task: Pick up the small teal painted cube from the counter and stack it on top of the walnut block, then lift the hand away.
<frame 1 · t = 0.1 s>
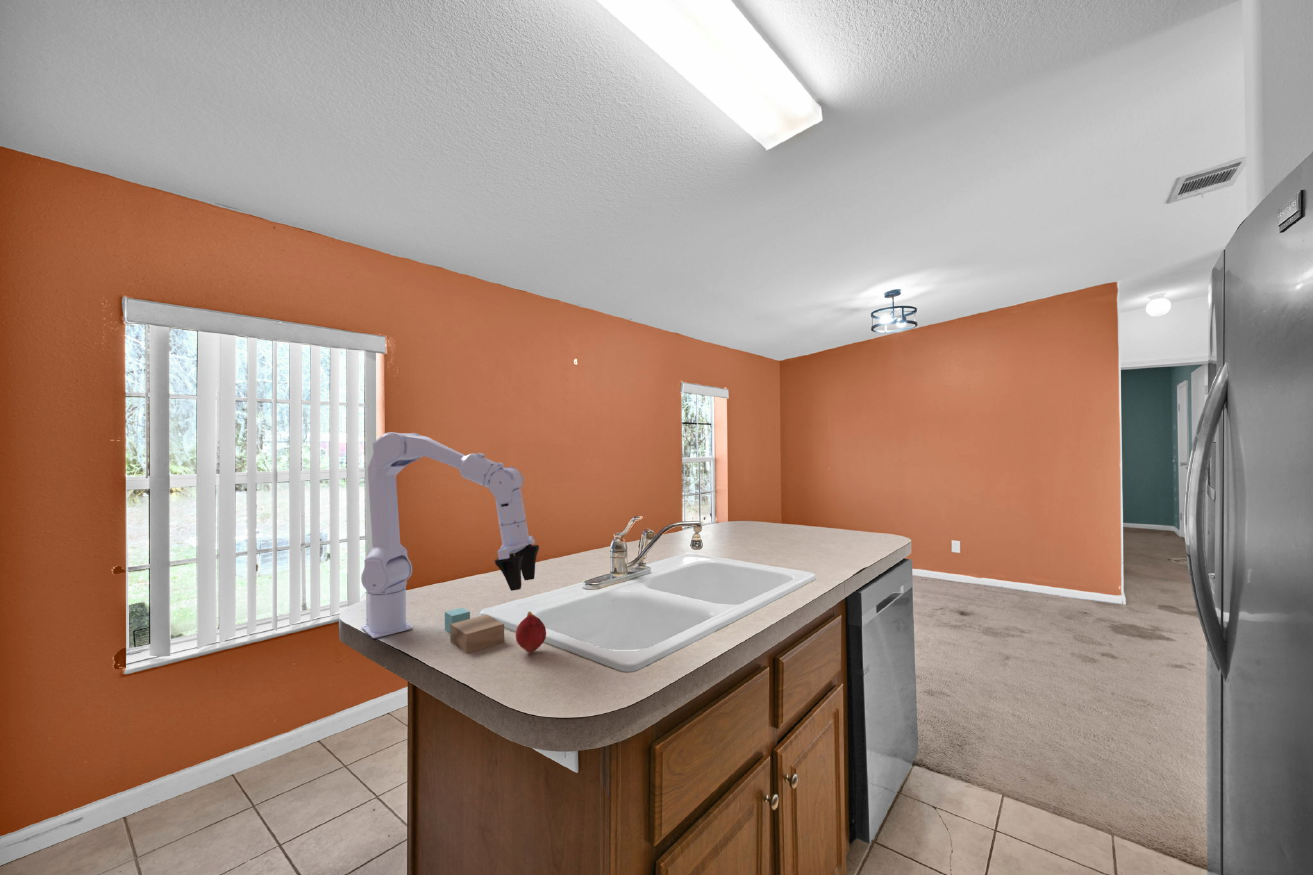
hand: (522, 584, 108), 11 cm above the table, tool pointing down, fingers open, 7 cm apart
teal cube: (457, 629, 111), on the table
onion: (531, 653, 98), on the table
walnut block: (477, 643, 104), on the table
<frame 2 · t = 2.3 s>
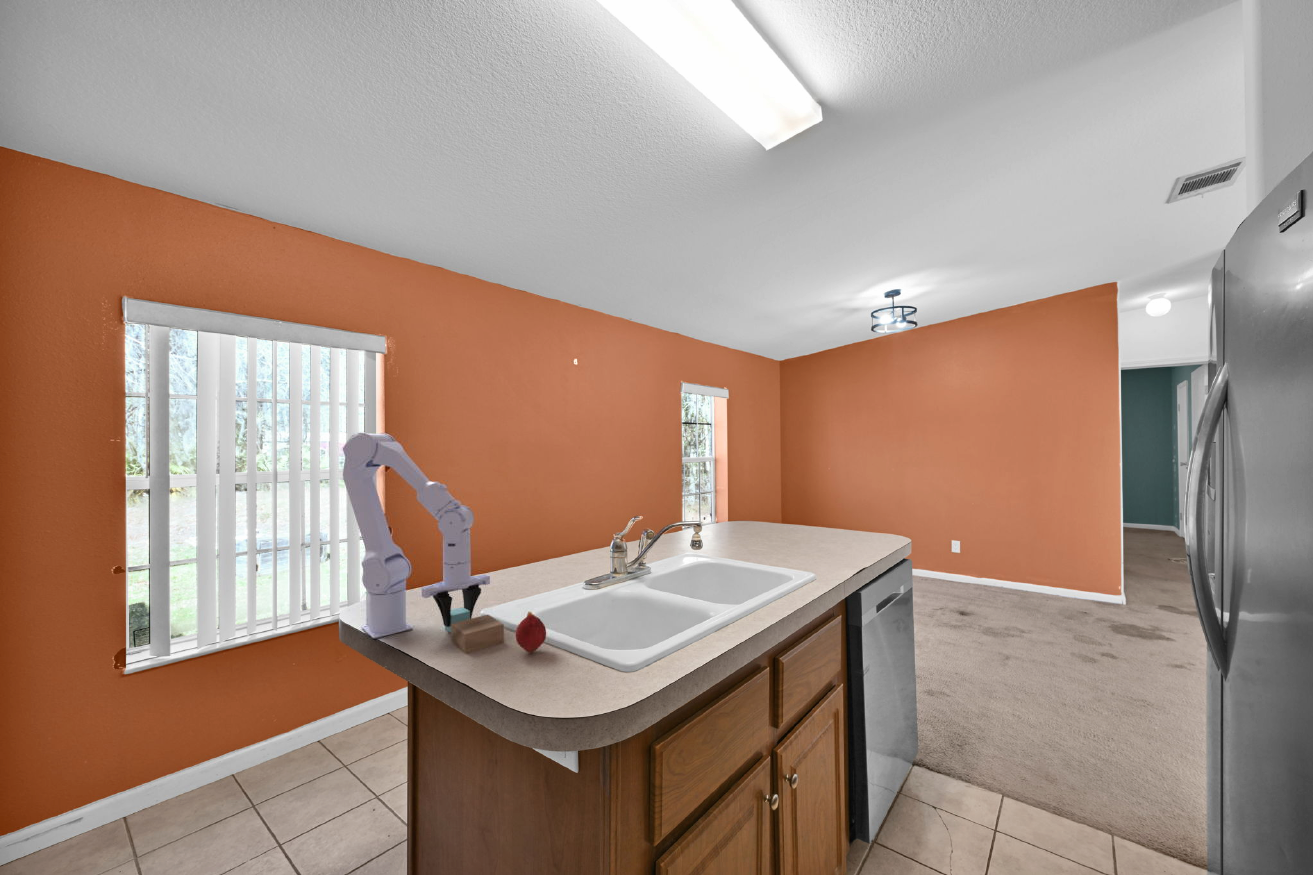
hand: (457, 622, 111), 1 cm above the table, tool pointing down, fingers closed on teal cube, 4 cm apart
teal cube: (457, 629, 111), on the table, touching gripper
everything else where it was.
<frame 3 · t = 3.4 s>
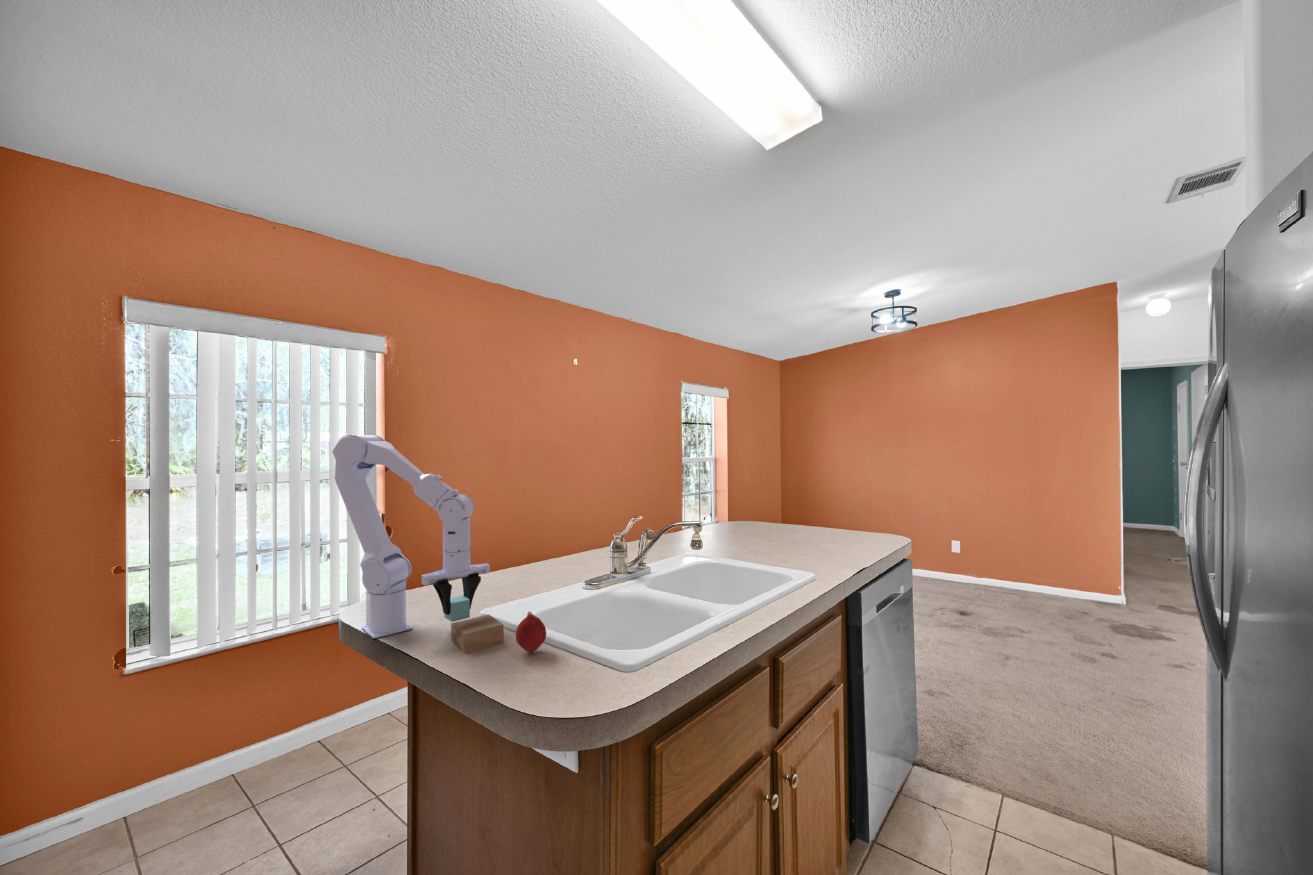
hand: (457, 610, 111), 4 cm above the table, tool pointing down, fingers closed on teal cube, 4 cm apart
teal cube: (457, 617, 111), point 3 cm above the table, touching gripper
everything else where it was.
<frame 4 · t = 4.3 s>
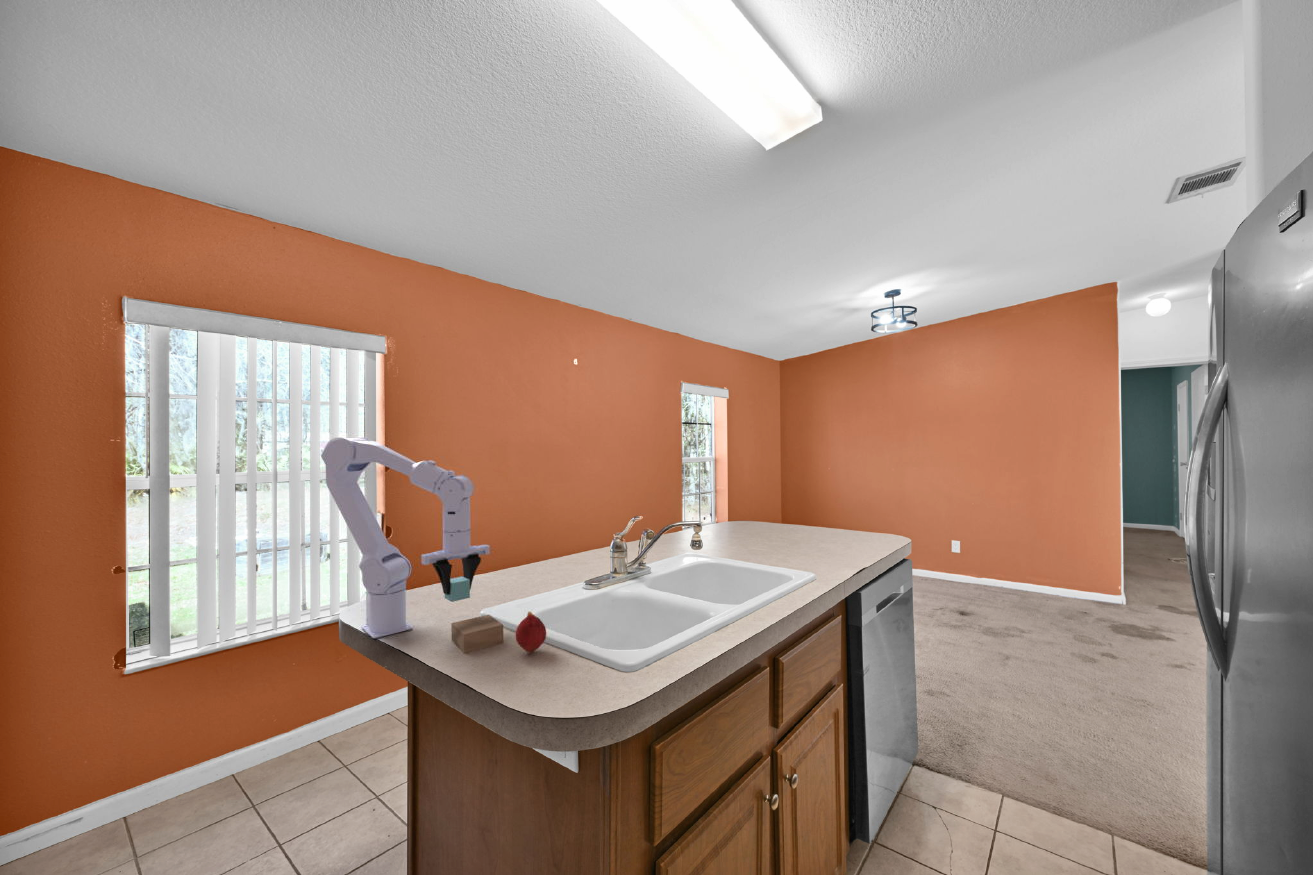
hand: (457, 591, 111), 8 cm above the table, tool pointing down, fingers closed on teal cube, 4 cm apart
teal cube: (457, 597, 111), point 7 cm above the table, touching gripper
everything else where it was.
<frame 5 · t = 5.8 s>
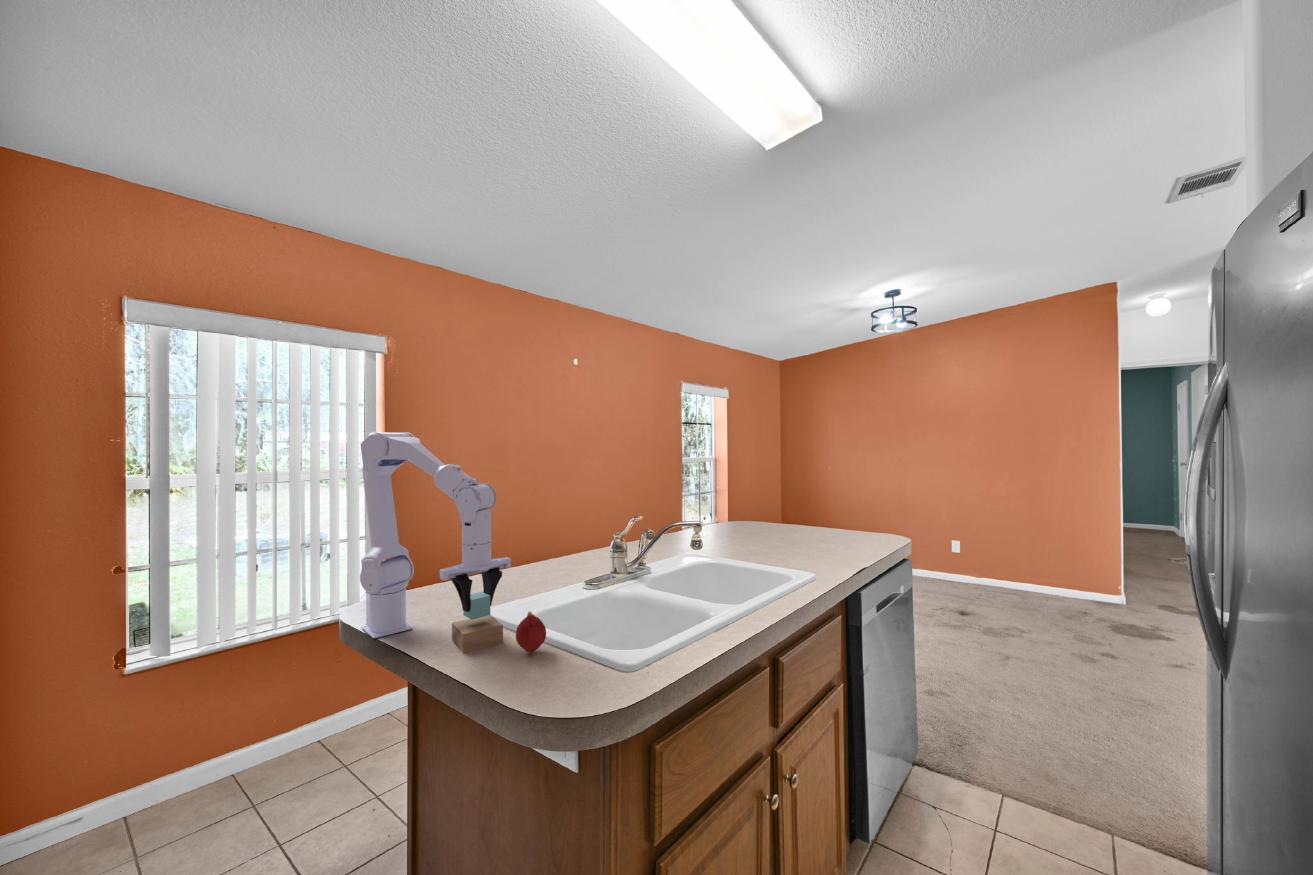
hand: (477, 607, 104), 7 cm above the table, tool pointing down, fingers closed on teal cube, 4 cm apart
teal cube: (476, 614, 104), point 5 cm above the table, touching gripper
everything else where it was.
when the fingers open (6 cm above the table, at t = 6.8 s): teal cube drops 1 cm, resting on walnut block.
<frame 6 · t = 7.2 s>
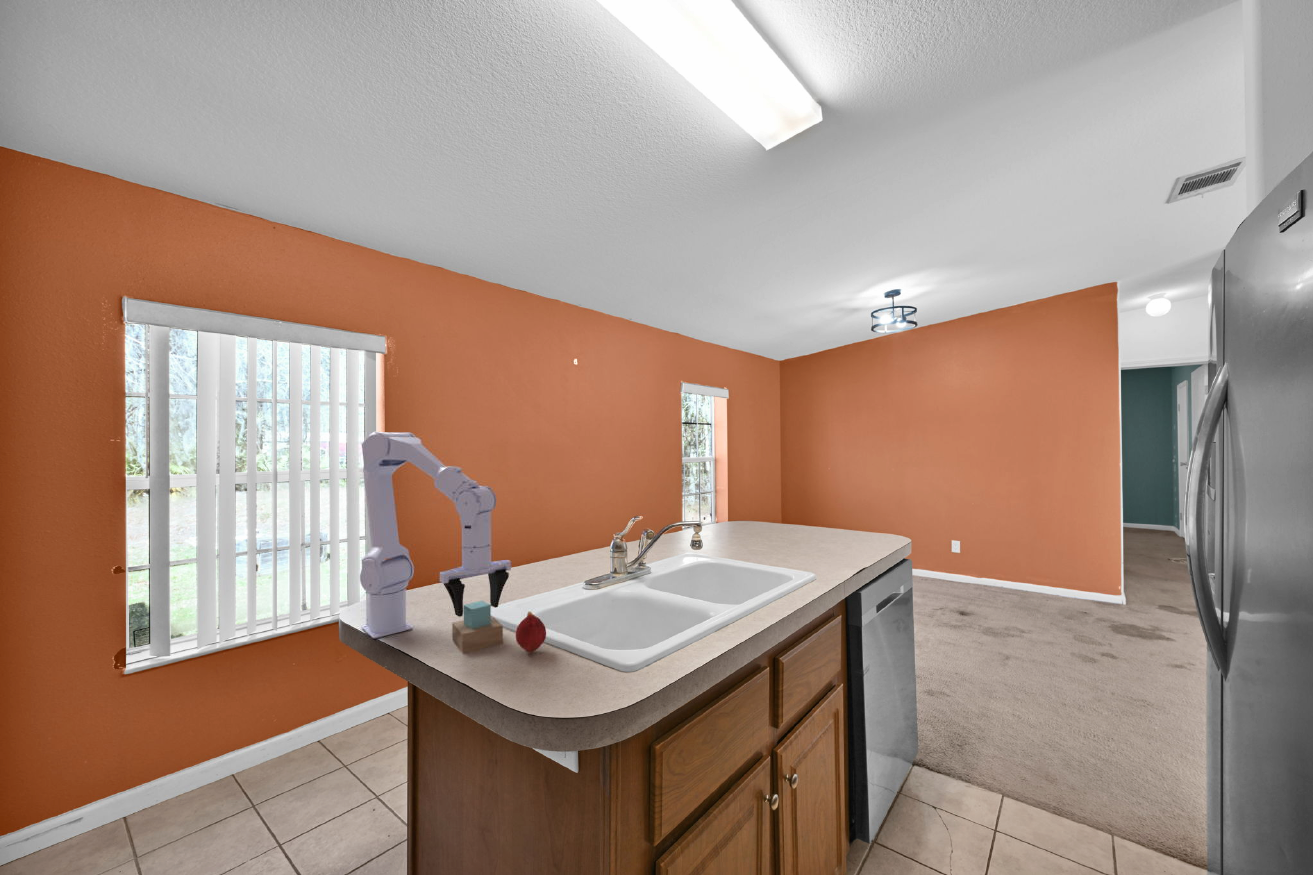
hand: (477, 610, 104), 6 cm above the table, tool pointing down, fingers open, 7 cm apart
teal cube: (477, 624, 104), point 4 cm above the table, touching walnut block
walnut block: (477, 643, 104), on the table, touching teal cube
everything else where it was.
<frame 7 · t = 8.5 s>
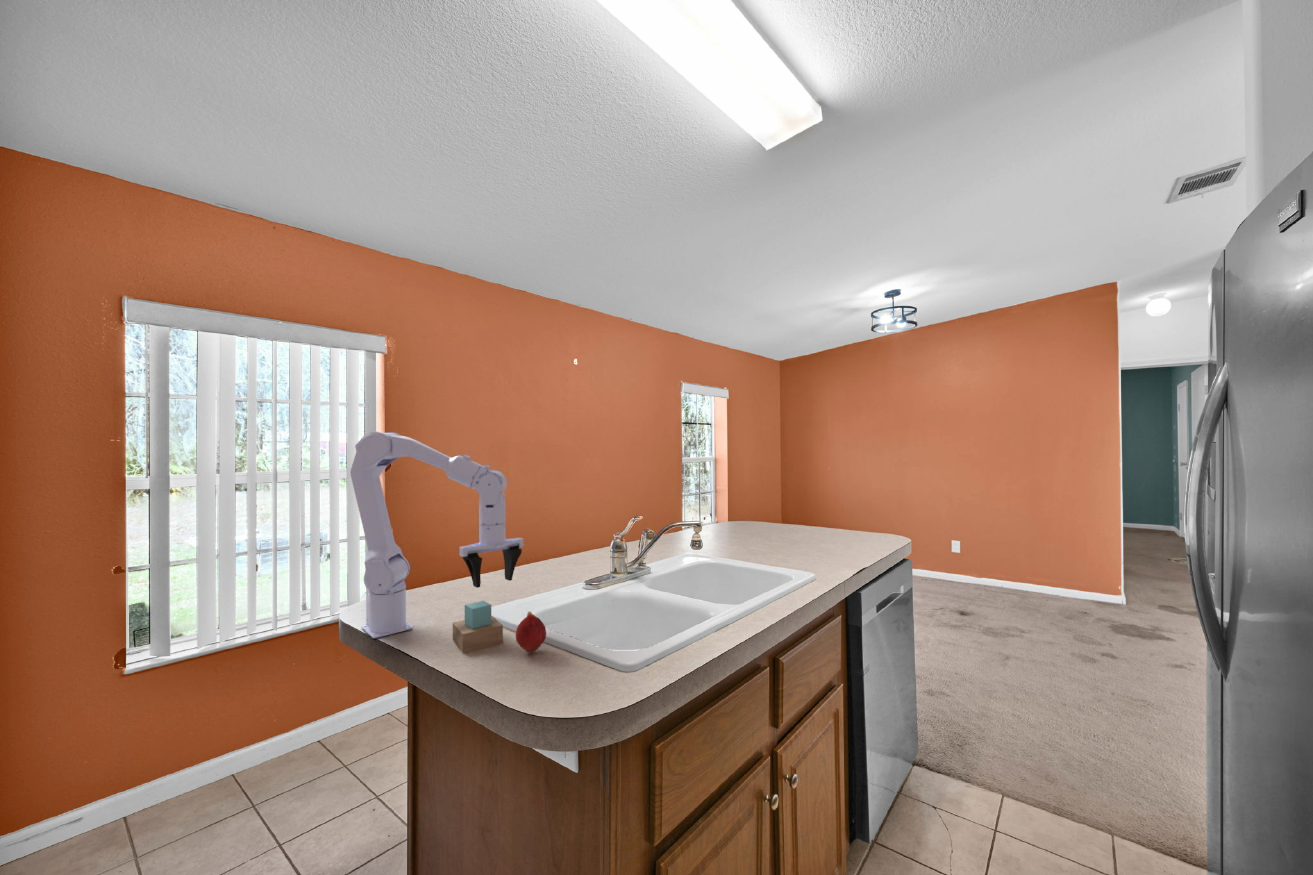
hand: (493, 583, 114), 9 cm above the table, tool pointing down, fingers open, 7 cm apart
teal cube: (478, 624, 104), point 4 cm above the table
walnut block: (477, 643, 104), on the table
everything else where it was.
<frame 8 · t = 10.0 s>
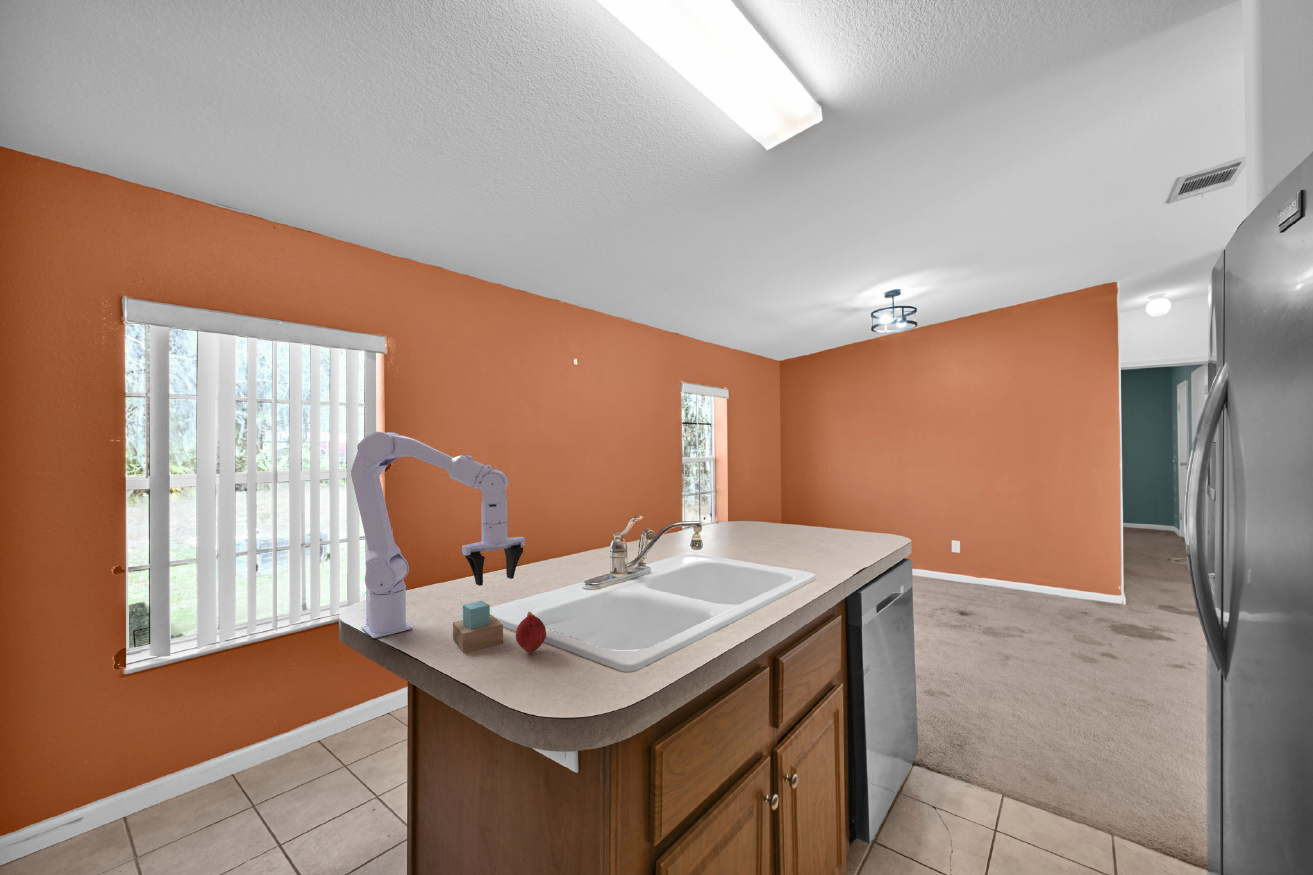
hand: (495, 581, 115), 9 cm above the table, tool pointing down, fingers open, 7 cm apart
teal cube: (476, 624, 104), point 4 cm above the table, touching walnut block
walnut block: (477, 642, 104), on the table, touching teal cube
everything else where it was.
at the end: teal cube 0.6 cm off-centre on the walnut block, point 4.0 cm above the walnut block's base; teal cube touching walnut block; the gripper is holding nothing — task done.
